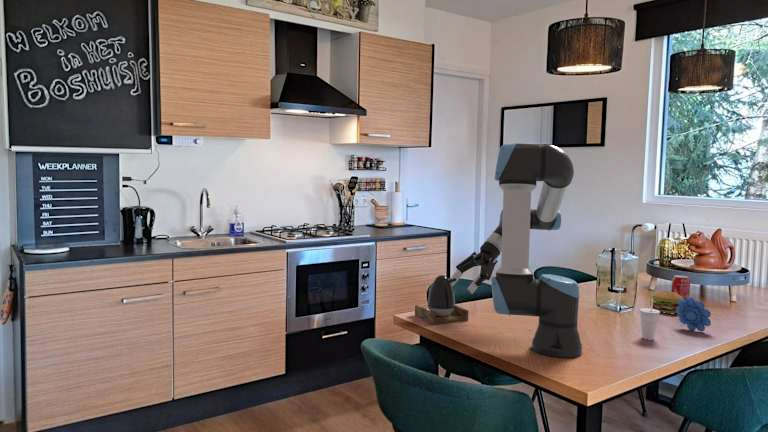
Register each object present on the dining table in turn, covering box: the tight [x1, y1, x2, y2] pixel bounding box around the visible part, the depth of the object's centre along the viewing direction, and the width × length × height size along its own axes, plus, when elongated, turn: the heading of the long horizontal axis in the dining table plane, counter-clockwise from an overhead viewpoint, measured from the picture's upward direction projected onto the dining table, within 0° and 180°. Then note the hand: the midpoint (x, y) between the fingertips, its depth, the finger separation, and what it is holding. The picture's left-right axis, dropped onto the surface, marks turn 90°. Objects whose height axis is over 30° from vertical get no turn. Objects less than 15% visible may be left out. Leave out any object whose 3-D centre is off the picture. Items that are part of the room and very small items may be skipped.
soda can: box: [670, 274, 691, 301], centre depth 247 cm, size 7×7×12 cm
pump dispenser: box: [427, 274, 456, 317], centre depth 213 cm, size 10×10×15 cm
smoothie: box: [639, 297, 661, 341], centre depth 193 cm, size 6×6×14 cm
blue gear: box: [676, 296, 712, 332], centre depth 203 cm, size 12×7×12 cm, turn 46°
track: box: [414, 304, 469, 326], centre depth 213 cm, size 14×15×4 cm
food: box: [649, 291, 682, 314], centre depth 233 cm, size 14×14×8 cm
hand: (459, 287), depth 216 cm, fingers open, 13 cm apart
